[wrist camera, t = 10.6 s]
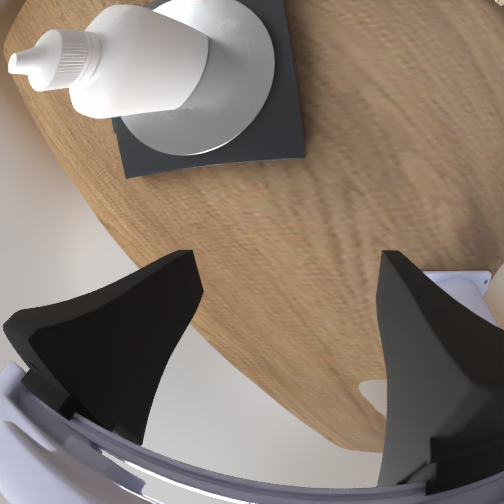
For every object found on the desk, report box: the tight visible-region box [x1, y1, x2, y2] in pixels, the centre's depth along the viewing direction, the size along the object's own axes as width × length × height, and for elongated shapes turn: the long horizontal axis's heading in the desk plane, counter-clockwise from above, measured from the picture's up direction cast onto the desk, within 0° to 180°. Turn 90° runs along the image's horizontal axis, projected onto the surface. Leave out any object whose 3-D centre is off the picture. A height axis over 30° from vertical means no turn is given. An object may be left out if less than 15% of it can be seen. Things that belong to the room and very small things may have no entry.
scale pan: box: [121, 0, 276, 156], centre depth 14 cm, size 12×12×1 cm
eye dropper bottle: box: [8, 5, 208, 119], centre depth 9 cm, size 4×6×12 cm
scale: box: [111, 0, 306, 179], centre depth 15 cm, size 14×14×2 cm
